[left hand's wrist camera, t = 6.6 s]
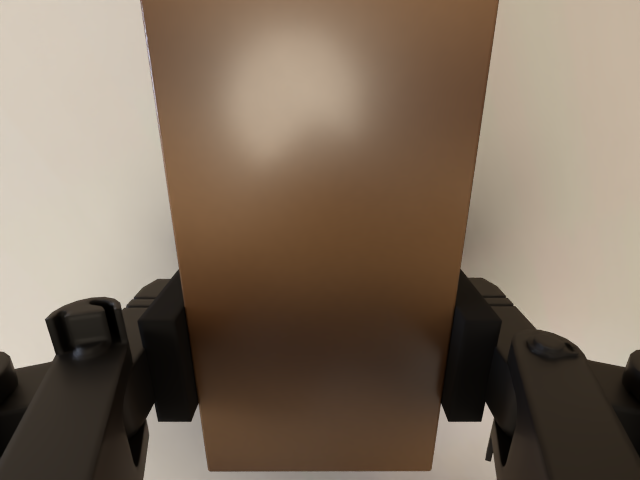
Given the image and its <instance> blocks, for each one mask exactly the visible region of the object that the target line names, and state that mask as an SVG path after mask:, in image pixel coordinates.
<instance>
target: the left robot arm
mask: <svg viewBox="0 0 640 480" xmlns="http://www.w3.org/2000/svg"><path fill="white" fill-rule="evenodd" d="M45 321H46V324H47V327H48V331H49V334H50V337H51V340H52V343H53V346H54V350H55V353H56V356H55V357H54V359H53V361H52V362H48V363H43V364H38V365H33V366H28V367H23V368H18V369H14V366H13V364H12V361H11V358H10V356H9V355H7V354H6V353H4V352H0V480H143V477H144V470H145V462H146V455H147V448H148V440H149V431H148V425H147V421H146V418H147V416H148V414H149V412H150V410H151V408H152V406H153V405H154V403H155V408H156V413H157V418H158V422H191V421H192V418H193V416H194V413H195V410H196V408H197V405H198V396H197V389H196V382H195V375H194V368H193V361H192V354H191V347H190V340H189V334H188V327H187V320H186V313H185V306H184V299H183V292H182V285H181V278H180V271H179V270H178V271H177V272H176V273H175V274H174V276H173V277H172V278H171V279H157V280H155V281H153V282H152V283H150V284H148V285H146V286H145V287H143V288H142V289H141V290H140V291H139V292H138V293H137V295H136V296H135V297H134V299H132V300H131V301H130V302H129V303H128V304H127V306H126V308H124V309H123V310H122V309H121V304H120V302H118V301H117V300H116V299H113V298H107V297H95V298H88V299H83V300H79V301H76V302H73V303H70V304H67V305H65V306H63V307H61V308H59V309H57V310H56V311H54V312H52V313H51V314H50V315H49V316H48V317H47V318H46V319H45ZM485 402H486V403H487V405H488V407H489V409H490V411H491V413H492V415H493V416H494V421H493V425H492V430H491V434H490V438H489V443H488V447H487V452H486V459H485V460H487V461H491V458H492V454H494V461H495V469H496V476H497V480H640V350H636V351H634V352H633V353H631V354H630V357H629V359H628V362H627V365H626V367H621V366H616V365H611V364H606V363H600V362H595V361H591V360H587V359H586V357H585V355H584V353H583V352H582V351H581V350H580V349H579V348H578V346H576V345H575V344H573V343H572V342H570V341H569V340H567V339H566V338H563V337H561V336H559V335H556V334H554V333H550V332H546V331H542V330H537V329H536V328H535V327H534V326H533V325H532V324H531V323H530V322H529V321H528V320H527V318H526V317H525V316H524V315H523V314H522V313H521V312H520V311H519V310H518V309H517V308H516V306H513V303H512V302H511V301H510V300H509V299H508V298H506V296H505V295H504V293H503V292H502V291H501V290H500V289H499V288H498V287H497V286H496V285H494V284H492V283H490V282H489V281H487V280H485V279H483V278H467V276H466V275H465V274H464V273H463V271H462V270H461V269H460V274H459V281H458V288H457V295H456V302H455V309H454V316H453V323H452V330H451V337H450V344H449V350H448V357H447V364H446V371H445V378H444V385H443V392H442V399H441V404H442V407H443V409H444V412H445V414H446V417H447V419H448V422H481V420H482V416H483V411H484V406H485Z"/></svg>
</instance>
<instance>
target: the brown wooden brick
mask: <svg viewBox="0 0 640 480" xmlns="http://www.w3.org/2000/svg"><path fill="white" fill-rule="evenodd" d="M140 2H141V9H142V16H143V23H144V30H145V36H146V43H147V50H148V57H149V64H150V71H151V78H152V85H153V92H154V99H155V106H156V112H157V119H158V126H159V133H160V140H161V147H162V154H163V161H164V168H165V175H166V182H167V188H168V195H169V202H170V209H171V216H172V223H173V230H174V237H175V244H176V251H177V258H178V264H179V271H180V278H181V285H182V292H183V299H184V306H185V313H186V320H187V327H188V334H189V340H190V347H191V354H192V361H193V368H194V375H195V382H196V389H197V396H198V403H199V410H200V416H201V423H202V430H203V437H204V444H205V451H206V458H207V465H208V470H209V471H430V470H431V469H432V462H433V455H434V448H435V441H436V434H437V427H438V420H439V413H440V406H441V399H442V392H443V385H444V378H445V371H446V364H447V357H448V350H449V344H450V337H451V330H452V323H453V316H454V309H455V302H456V295H457V288H458V281H459V274H460V267H461V260H462V253H463V246H464V239H465V232H466V225H467V218H468V212H469V205H470V198H471V191H472V184H473V177H474V170H475V163H476V156H477V149H478V142H479V135H480V128H481V121H482V114H483V107H484V100H485V93H486V87H487V80H488V73H489V66H490V59H491V52H492V45H493V38H494V31H495V24H496V17H497V10H498V3H499V0H140Z"/></svg>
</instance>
